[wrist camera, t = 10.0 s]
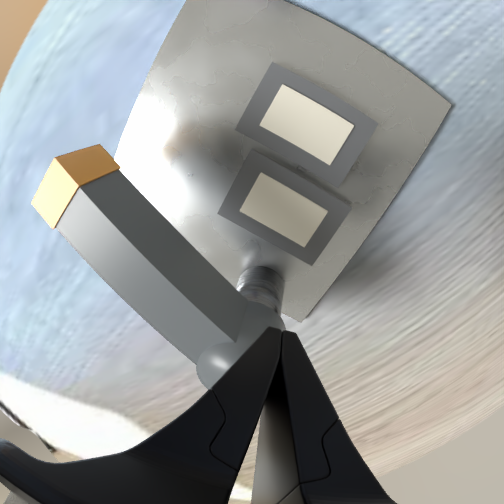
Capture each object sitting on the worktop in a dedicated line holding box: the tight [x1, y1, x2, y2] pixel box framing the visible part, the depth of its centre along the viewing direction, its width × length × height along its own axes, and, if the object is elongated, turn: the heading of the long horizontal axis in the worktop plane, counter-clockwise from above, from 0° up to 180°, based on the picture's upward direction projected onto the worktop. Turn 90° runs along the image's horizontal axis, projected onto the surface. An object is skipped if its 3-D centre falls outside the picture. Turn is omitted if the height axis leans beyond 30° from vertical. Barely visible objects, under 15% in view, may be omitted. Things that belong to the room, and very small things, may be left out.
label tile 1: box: [235, 62, 379, 188], centre depth 15 cm, size 6×4×1 cm, turn 62°
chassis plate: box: [114, 0, 451, 322], centre depth 15 cm, size 15×16×4 cm
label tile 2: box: [217, 148, 352, 266], centre depth 17 cm, size 6×4×1 cm, turn 62°
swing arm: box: [31, 144, 286, 390], centre depth 13 cm, size 13×4×3 cm, turn 43°
